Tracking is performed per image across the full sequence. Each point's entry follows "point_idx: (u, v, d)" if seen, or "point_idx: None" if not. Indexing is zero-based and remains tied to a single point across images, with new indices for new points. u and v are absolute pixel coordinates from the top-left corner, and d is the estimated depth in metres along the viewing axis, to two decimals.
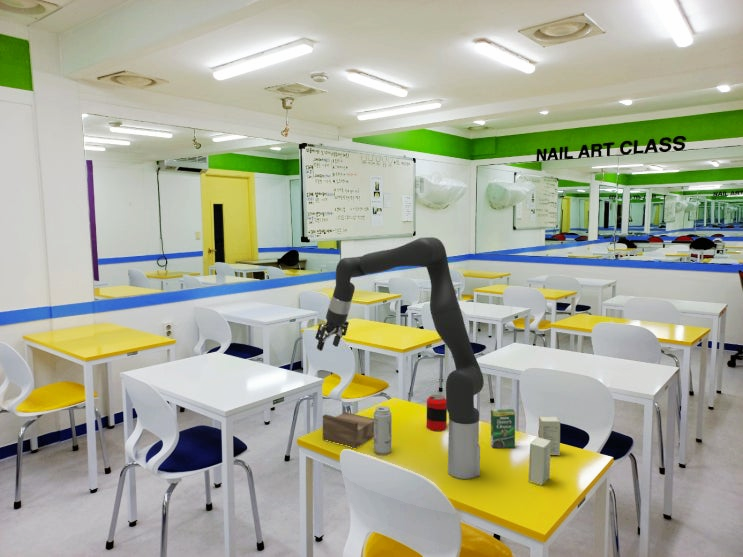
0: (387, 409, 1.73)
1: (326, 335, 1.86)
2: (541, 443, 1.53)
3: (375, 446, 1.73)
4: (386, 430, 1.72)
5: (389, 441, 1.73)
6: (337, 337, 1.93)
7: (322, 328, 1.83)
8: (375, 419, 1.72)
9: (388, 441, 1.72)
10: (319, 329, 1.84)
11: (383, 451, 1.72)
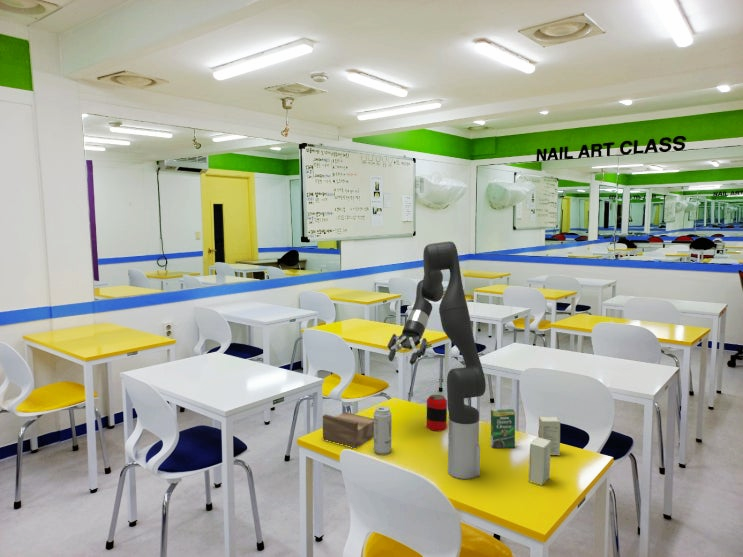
0: (387, 409, 1.73)
1: None
2: (541, 443, 1.53)
3: (375, 446, 1.73)
4: (386, 430, 1.72)
5: (389, 441, 1.73)
6: None
7: None
8: (375, 419, 1.72)
9: (388, 441, 1.72)
10: None
11: (383, 451, 1.72)
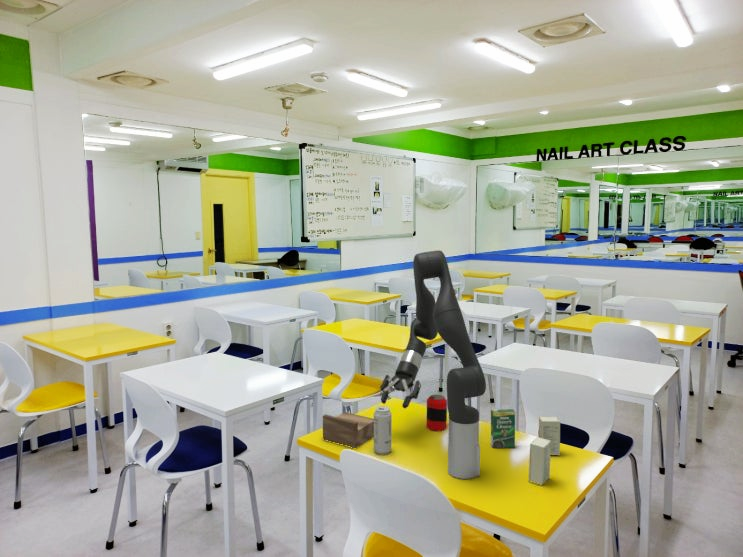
0: (387, 409, 1.73)
1: None
2: (541, 443, 1.53)
3: (375, 446, 1.73)
4: (386, 430, 1.72)
5: (389, 441, 1.73)
6: None
7: None
8: (375, 419, 1.72)
9: (388, 441, 1.72)
10: None
11: (383, 451, 1.72)
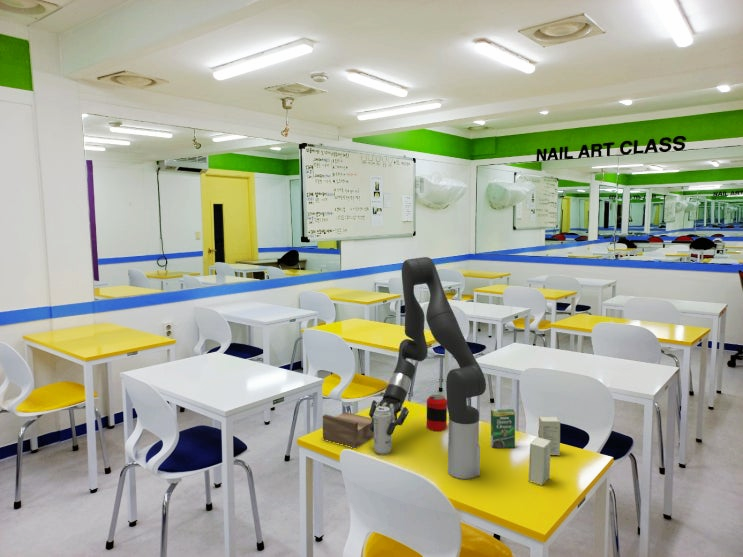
0: (387, 409, 1.73)
1: None
2: (541, 443, 1.53)
3: (375, 446, 1.73)
4: (386, 430, 1.72)
5: (389, 441, 1.73)
6: None
7: None
8: (375, 419, 1.72)
9: (388, 441, 1.72)
10: None
11: (383, 451, 1.72)
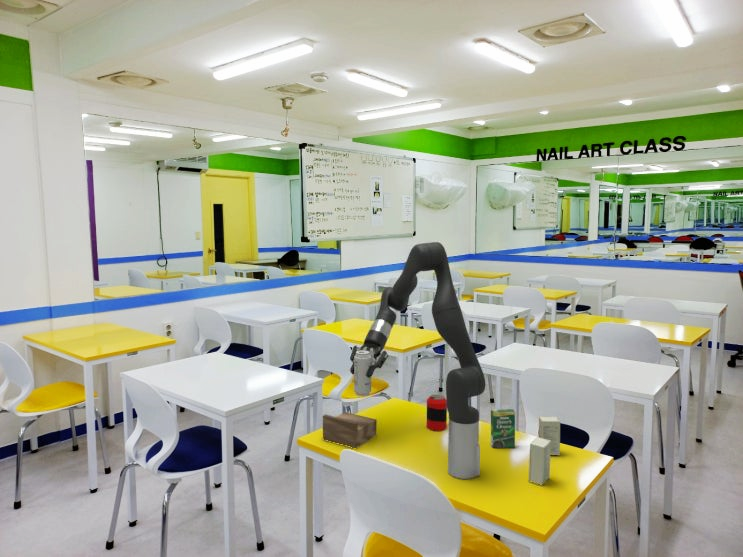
0: (367, 352, 1.79)
1: None
2: (541, 443, 1.53)
3: (355, 387, 1.79)
4: (366, 372, 1.77)
5: (369, 383, 1.79)
6: None
7: None
8: (355, 362, 1.78)
9: (368, 383, 1.78)
10: None
11: (363, 392, 1.78)
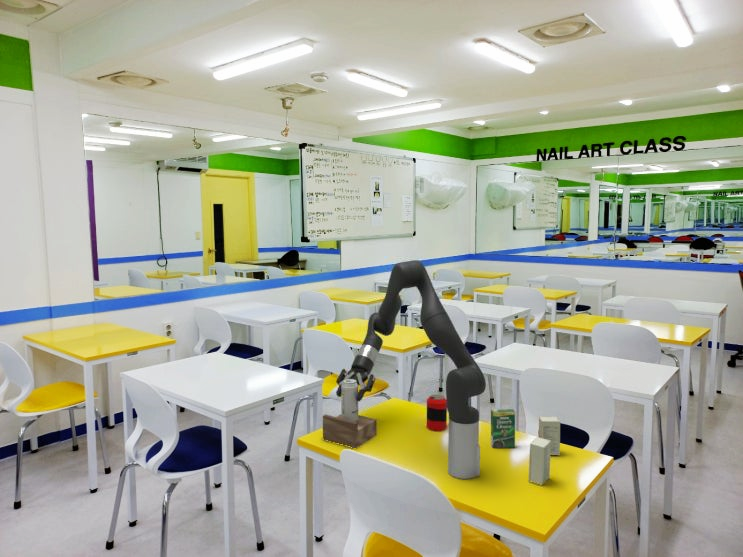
0: (354, 381, 1.84)
1: None
2: (541, 443, 1.53)
3: (343, 416, 1.84)
4: (353, 401, 1.83)
5: (356, 411, 1.84)
6: None
7: None
8: (342, 390, 1.83)
9: (355, 411, 1.84)
10: None
11: (350, 420, 1.83)
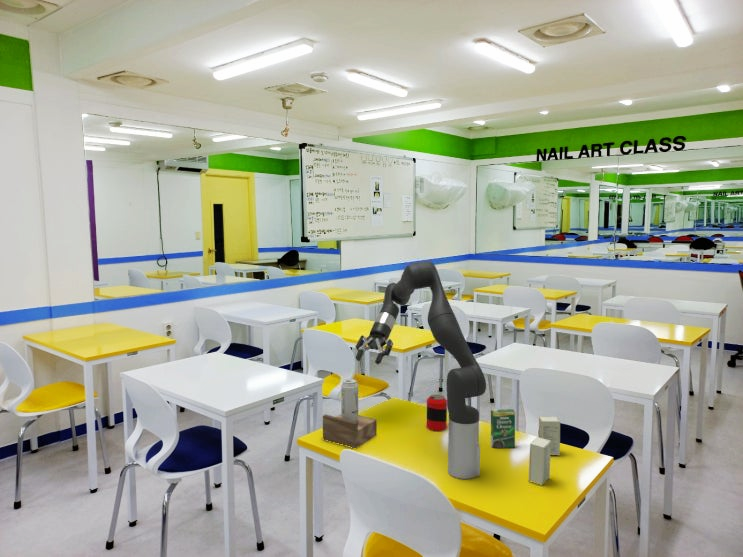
0: (354, 381, 1.84)
1: None
2: (541, 443, 1.53)
3: (343, 416, 1.84)
4: (353, 401, 1.83)
5: (356, 411, 1.84)
6: None
7: None
8: (342, 390, 1.83)
9: (355, 411, 1.84)
10: None
11: (350, 420, 1.83)
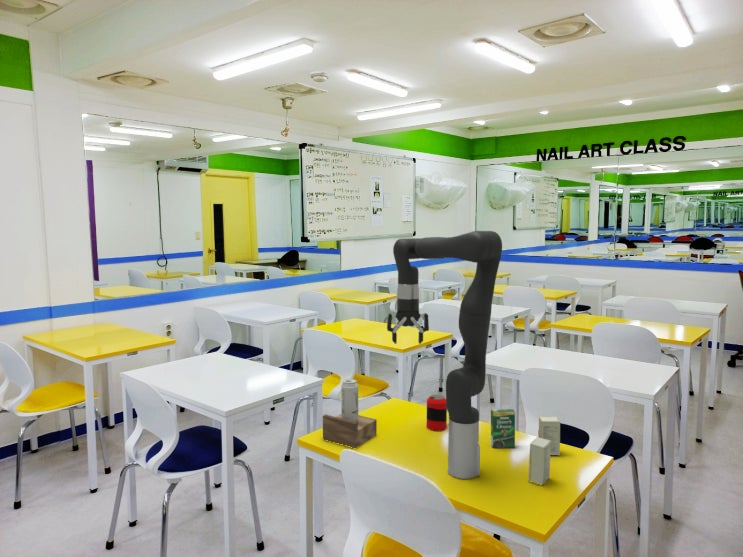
0: (354, 381, 1.84)
1: (396, 325, 1.76)
2: (541, 443, 1.53)
3: (343, 416, 1.84)
4: (353, 401, 1.83)
5: (356, 412, 1.84)
6: (419, 332, 1.78)
7: (388, 316, 1.76)
8: (342, 390, 1.83)
9: (355, 411, 1.84)
10: None
11: (350, 420, 1.83)
